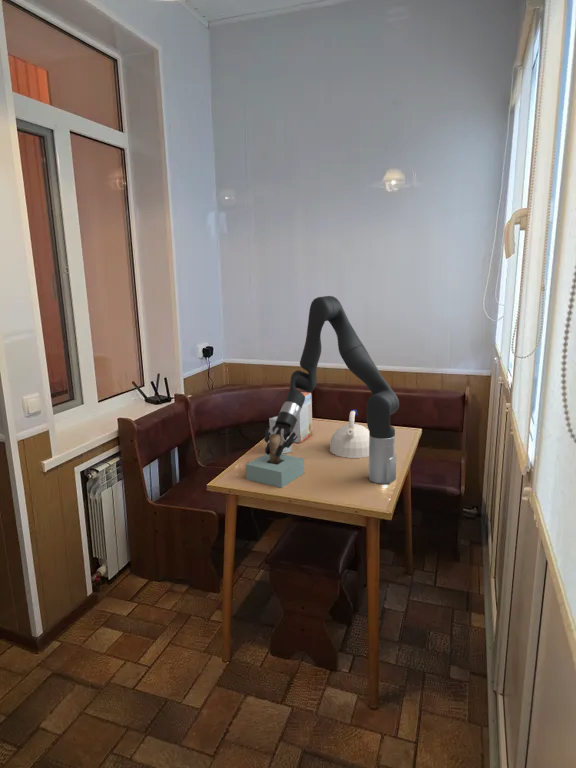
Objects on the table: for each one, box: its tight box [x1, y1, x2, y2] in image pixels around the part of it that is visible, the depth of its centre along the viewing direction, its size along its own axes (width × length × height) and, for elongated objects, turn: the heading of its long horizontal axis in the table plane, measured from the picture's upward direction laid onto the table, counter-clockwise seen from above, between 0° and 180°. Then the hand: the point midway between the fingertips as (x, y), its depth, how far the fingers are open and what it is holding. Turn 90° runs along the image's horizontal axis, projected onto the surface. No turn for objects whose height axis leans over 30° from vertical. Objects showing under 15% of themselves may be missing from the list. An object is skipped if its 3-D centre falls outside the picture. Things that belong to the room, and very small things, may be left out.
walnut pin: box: [269, 434, 280, 465], centre depth 195 cm, size 4×4×13 cm
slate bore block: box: [245, 453, 305, 489], centre depth 196 cm, size 16×16×6 cm
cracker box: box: [292, 391, 313, 444], centre depth 239 cm, size 14×6×21 cm, turn 154°
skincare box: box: [268, 415, 292, 455], centre depth 223 cm, size 8×6×15 cm
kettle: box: [329, 409, 369, 459], centre depth 222 cm, size 20×21×18 cm
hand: (272, 454), depth 194 cm, fingers closed on walnut pin, 4 cm apart
